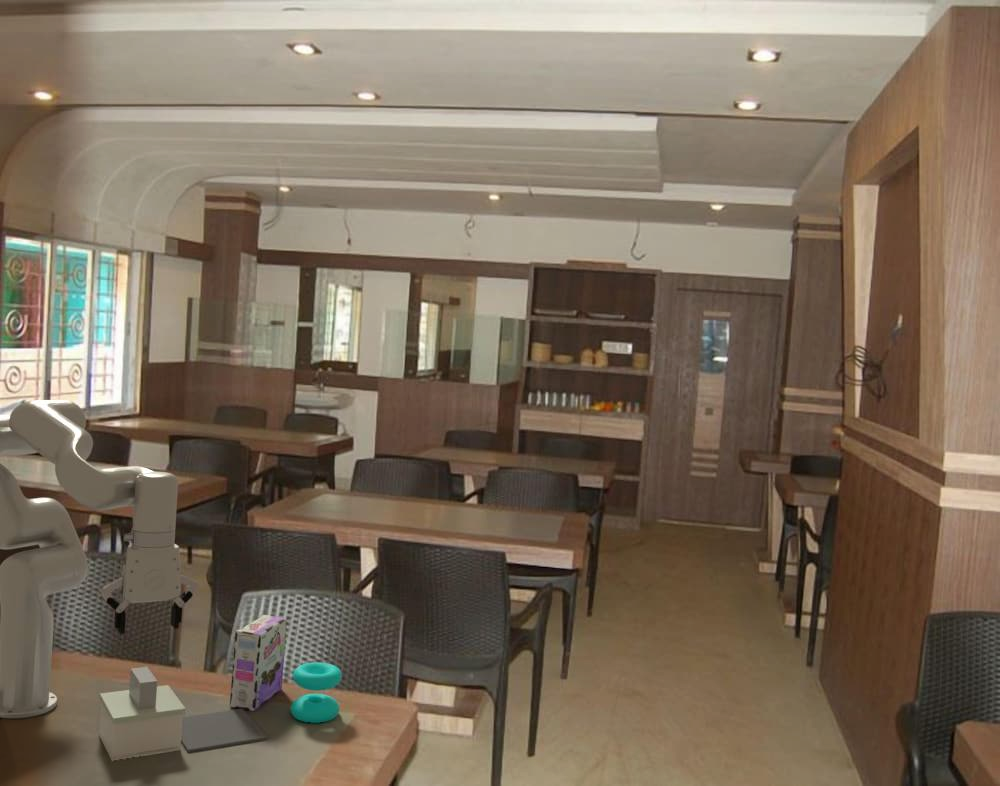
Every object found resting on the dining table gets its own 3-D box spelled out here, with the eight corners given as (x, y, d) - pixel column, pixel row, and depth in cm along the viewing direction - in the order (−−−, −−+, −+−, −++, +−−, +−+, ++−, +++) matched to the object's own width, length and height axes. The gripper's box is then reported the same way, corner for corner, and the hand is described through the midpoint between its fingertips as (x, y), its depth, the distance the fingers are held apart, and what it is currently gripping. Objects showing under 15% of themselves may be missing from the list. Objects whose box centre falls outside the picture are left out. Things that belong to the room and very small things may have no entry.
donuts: (331, 658, 202) (349, 673, 193) (327, 703, 202) (346, 721, 194) (286, 663, 196) (303, 679, 188) (283, 710, 197) (300, 728, 188)
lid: (112, 730, 167) (115, 691, 166) (99, 704, 177) (101, 667, 177) (184, 719, 174) (187, 681, 173) (167, 695, 184) (169, 660, 184)
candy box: (254, 712, 194) (260, 634, 193) (228, 707, 195) (234, 630, 195) (282, 689, 208) (288, 616, 207) (258, 685, 209) (263, 613, 208)
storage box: (112, 761, 168) (114, 723, 167) (99, 735, 178) (101, 699, 177) (180, 750, 174) (182, 713, 174) (164, 725, 184) (166, 690, 184)
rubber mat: (188, 752, 173) (188, 749, 173) (167, 721, 186) (167, 719, 186) (266, 739, 182) (266, 736, 182) (241, 711, 194) (242, 708, 194)
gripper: (108, 545, 166) (102, 640, 167) (205, 540, 176) (200, 630, 176) (99, 536, 172) (94, 628, 173) (194, 532, 182) (189, 619, 183)
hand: (148, 629), depth 175 cm, fingers open, 9 cm apart
